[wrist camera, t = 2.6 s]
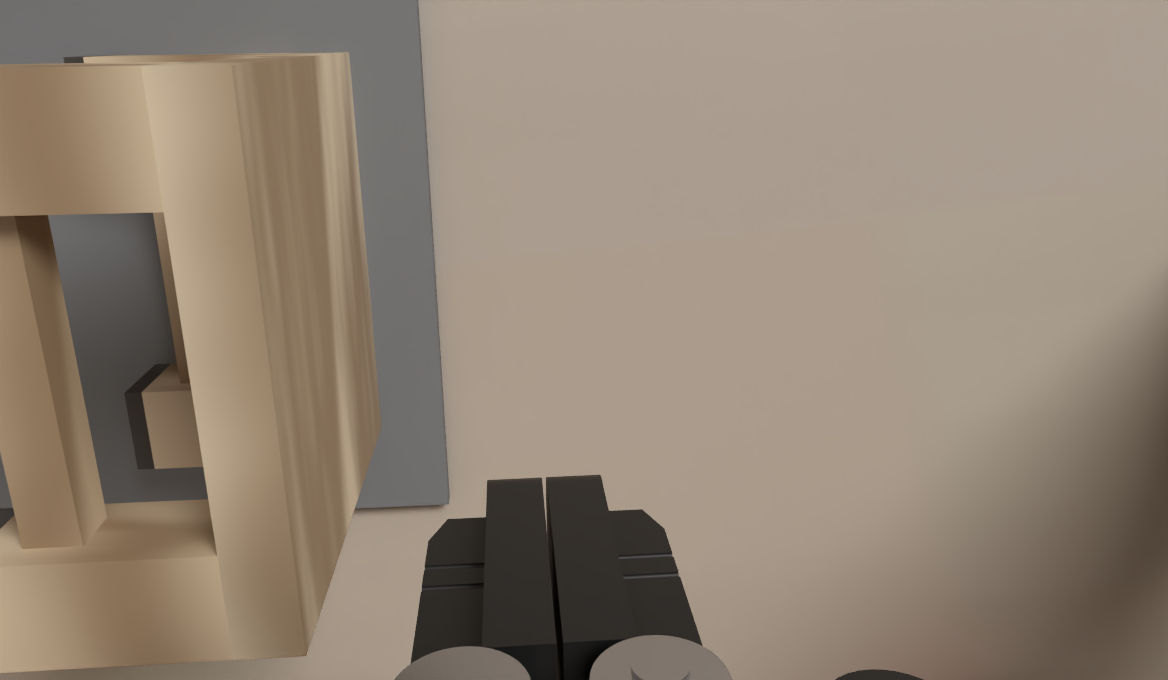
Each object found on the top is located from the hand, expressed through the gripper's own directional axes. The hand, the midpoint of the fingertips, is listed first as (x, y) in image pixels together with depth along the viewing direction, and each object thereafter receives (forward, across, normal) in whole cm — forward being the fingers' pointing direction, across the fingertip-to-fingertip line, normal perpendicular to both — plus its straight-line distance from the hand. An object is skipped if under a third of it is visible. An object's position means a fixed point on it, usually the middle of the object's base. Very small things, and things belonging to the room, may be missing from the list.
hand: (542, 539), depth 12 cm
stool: (+18, +8, 0) cm, 20 cm away
